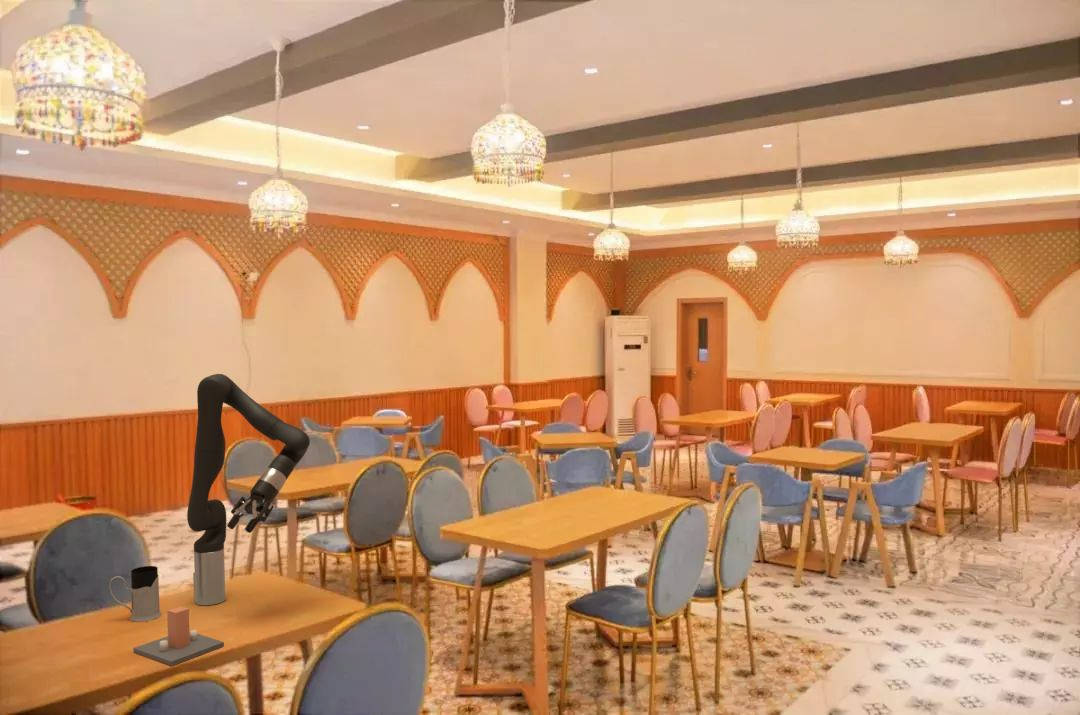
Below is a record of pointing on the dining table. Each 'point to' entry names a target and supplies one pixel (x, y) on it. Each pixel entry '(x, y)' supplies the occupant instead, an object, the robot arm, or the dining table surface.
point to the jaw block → (178, 627)
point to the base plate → (174, 656)
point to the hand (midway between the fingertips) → (238, 529)
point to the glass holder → (143, 593)
